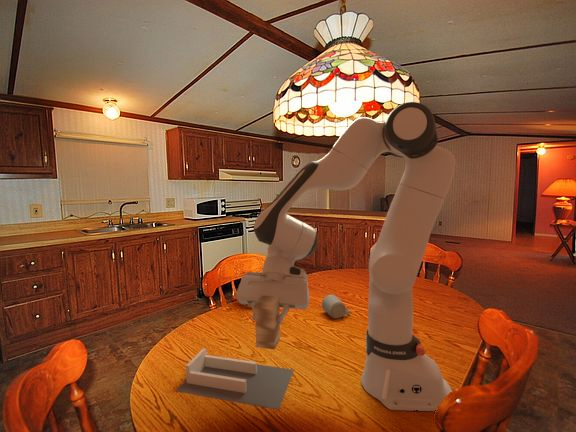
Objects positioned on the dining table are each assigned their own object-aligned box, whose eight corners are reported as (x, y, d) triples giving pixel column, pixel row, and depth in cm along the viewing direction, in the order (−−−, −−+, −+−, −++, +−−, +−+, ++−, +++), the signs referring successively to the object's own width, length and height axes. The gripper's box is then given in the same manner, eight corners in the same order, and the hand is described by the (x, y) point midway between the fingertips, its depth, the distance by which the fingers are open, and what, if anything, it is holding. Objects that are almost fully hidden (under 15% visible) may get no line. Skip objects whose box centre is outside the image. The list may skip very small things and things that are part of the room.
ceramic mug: (330, 321, 119) (331, 302, 118) (321, 312, 127) (321, 295, 126) (353, 317, 123) (354, 298, 122) (343, 309, 130) (343, 292, 130)
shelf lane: (294, 371, 87) (293, 353, 86) (278, 411, 72) (278, 389, 71) (206, 358, 94) (206, 341, 93) (175, 392, 79) (174, 372, 78)
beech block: (279, 339, 81) (279, 296, 80) (274, 349, 76) (273, 304, 75) (262, 337, 82) (261, 295, 81) (255, 347, 78) (255, 302, 76)
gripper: (240, 266, 87) (226, 312, 78) (310, 270, 82) (303, 320, 73) (246, 276, 92) (233, 321, 83) (313, 281, 86) (306, 329, 78)
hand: (267, 321), depth 78 cm, fingers closed on beech block, 5 cm apart
